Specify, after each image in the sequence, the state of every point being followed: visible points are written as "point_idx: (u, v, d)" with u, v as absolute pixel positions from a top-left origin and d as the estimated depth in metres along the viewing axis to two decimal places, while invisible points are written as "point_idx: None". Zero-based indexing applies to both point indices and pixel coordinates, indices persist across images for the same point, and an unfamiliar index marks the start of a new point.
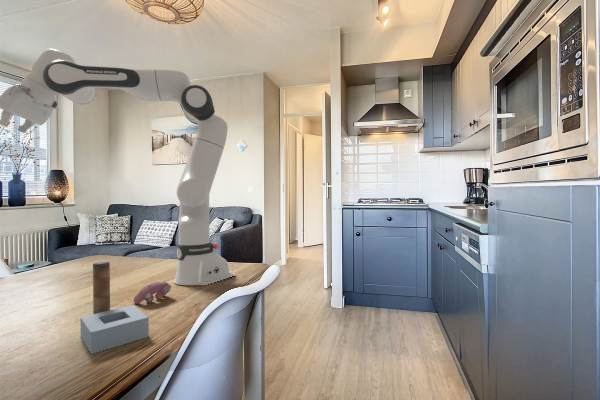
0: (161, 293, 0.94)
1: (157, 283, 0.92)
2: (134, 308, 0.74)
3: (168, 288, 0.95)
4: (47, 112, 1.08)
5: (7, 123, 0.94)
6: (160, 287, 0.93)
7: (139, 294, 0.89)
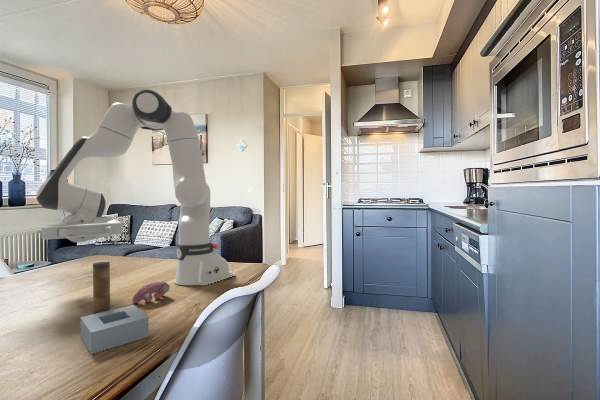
0: (160, 293, 0.94)
1: (156, 283, 0.92)
2: (134, 308, 0.74)
3: (166, 288, 0.95)
4: (110, 221, 1.00)
5: (67, 229, 0.85)
6: (159, 287, 0.93)
7: (138, 294, 0.89)
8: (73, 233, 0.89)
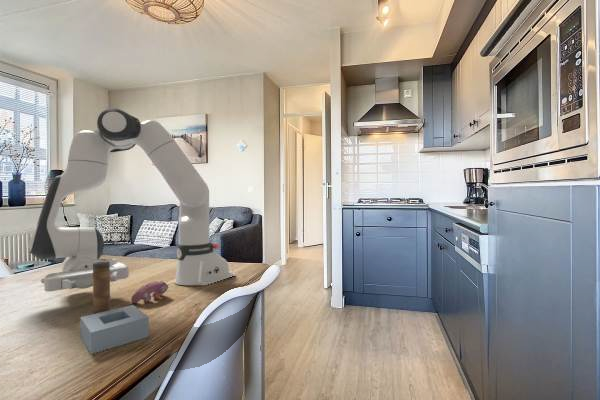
0: (158, 292, 0.94)
1: (154, 283, 0.93)
2: (134, 308, 0.74)
3: (165, 288, 0.95)
4: (115, 264, 0.96)
5: (71, 281, 0.81)
6: (157, 287, 0.93)
7: (136, 293, 0.89)
8: (77, 282, 0.85)
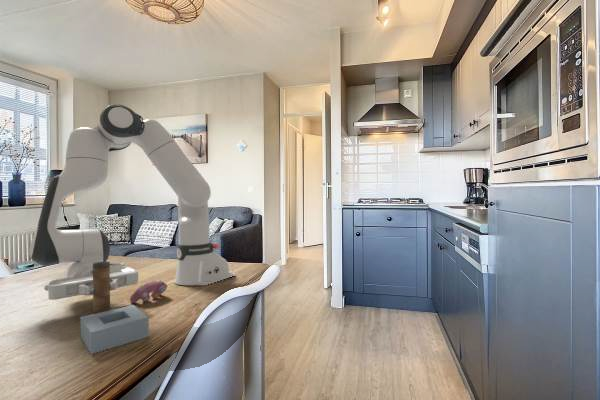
0: (157, 292, 0.94)
1: (153, 282, 0.93)
2: (134, 308, 0.74)
3: (164, 288, 0.96)
4: (124, 269, 0.89)
5: (88, 286, 0.76)
6: (156, 286, 0.93)
7: (135, 293, 0.89)
8: None
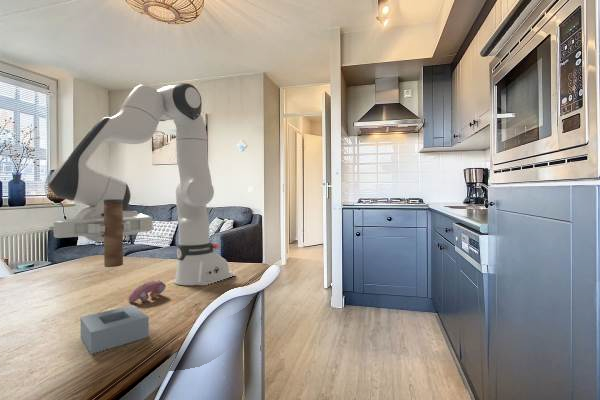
0: (156, 292, 0.95)
1: (152, 282, 0.93)
2: (134, 308, 0.74)
3: (162, 287, 0.96)
4: (136, 215, 0.81)
5: (99, 224, 0.67)
6: (155, 286, 0.94)
7: (134, 293, 0.90)
8: None
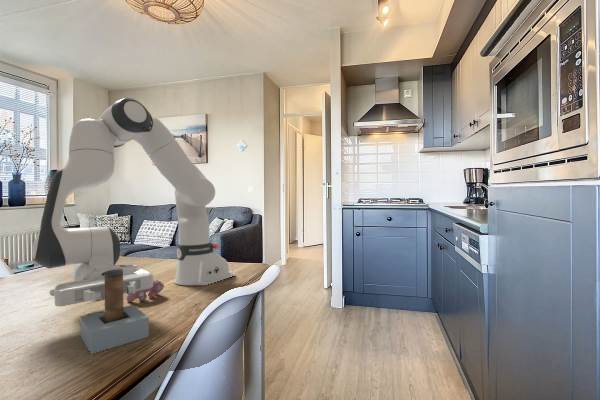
0: (154, 292, 0.95)
1: None
2: (134, 308, 0.74)
3: (161, 287, 0.96)
4: (137, 271, 0.81)
5: (94, 292, 0.66)
6: (153, 286, 0.94)
7: None
8: None
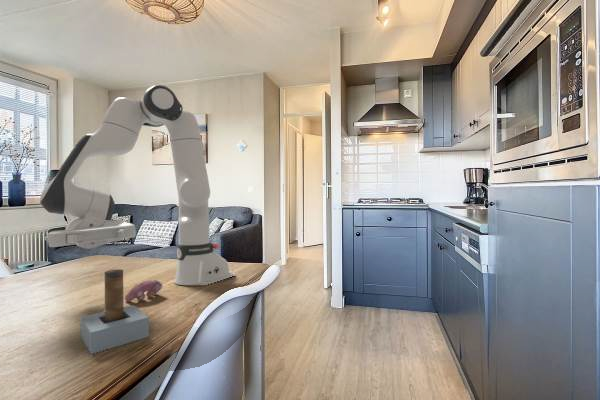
0: (152, 291, 0.95)
1: (148, 281, 0.94)
2: (134, 308, 0.74)
3: (159, 287, 0.97)
4: (121, 224, 0.92)
5: (76, 235, 0.77)
6: (151, 285, 0.94)
7: (130, 292, 0.90)
8: (83, 239, 0.81)
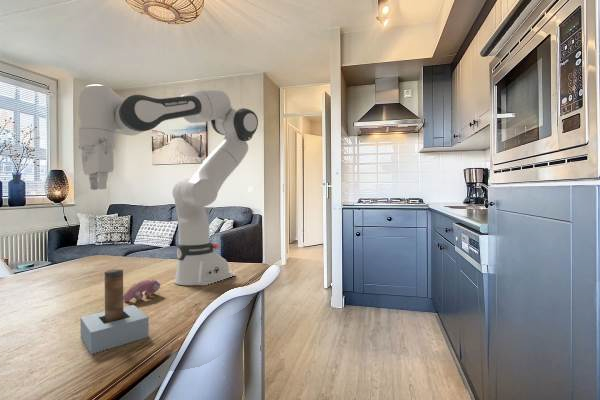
0: (150, 291, 0.96)
1: (146, 281, 0.94)
2: (134, 308, 0.74)
3: (157, 286, 0.97)
4: None
5: (105, 184, 0.85)
6: (149, 285, 0.95)
7: (128, 292, 0.91)
8: None
